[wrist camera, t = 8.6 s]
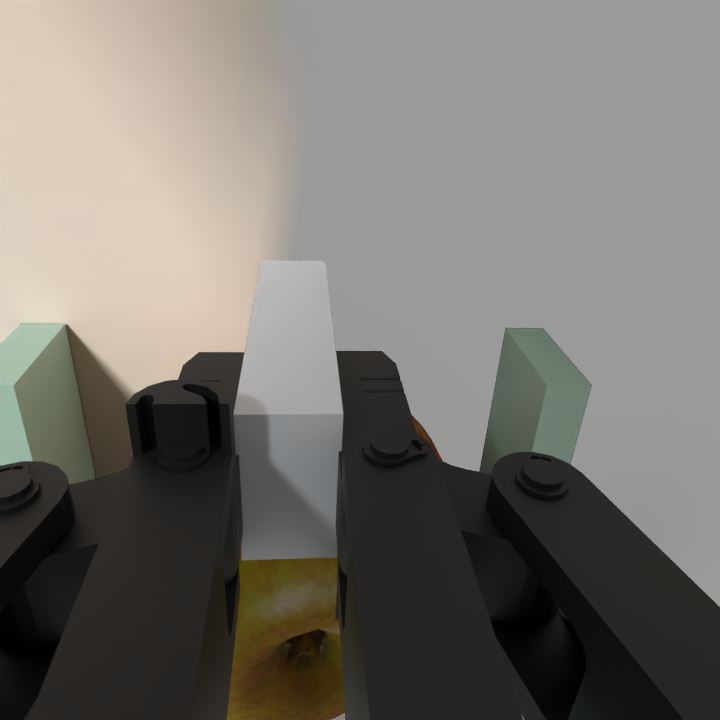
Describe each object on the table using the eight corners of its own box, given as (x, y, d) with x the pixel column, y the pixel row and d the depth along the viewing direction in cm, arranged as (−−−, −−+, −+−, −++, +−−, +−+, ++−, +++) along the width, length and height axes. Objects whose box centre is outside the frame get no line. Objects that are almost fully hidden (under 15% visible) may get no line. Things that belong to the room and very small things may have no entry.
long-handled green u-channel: (21, 323, 17) (-1164, 1506, 3) (542, 328, 18) (1237, 1134, 5) (84, 594, 22) (-269, 1497, 8) (489, 580, 24) (750, 1317, 10)
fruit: (335, 586, 23) (351, 825, 16) (105, 503, 20) (-1, 750, 13) (484, 399, 19) (587, 599, 12) (231, 268, 17) (182, 431, 10)
